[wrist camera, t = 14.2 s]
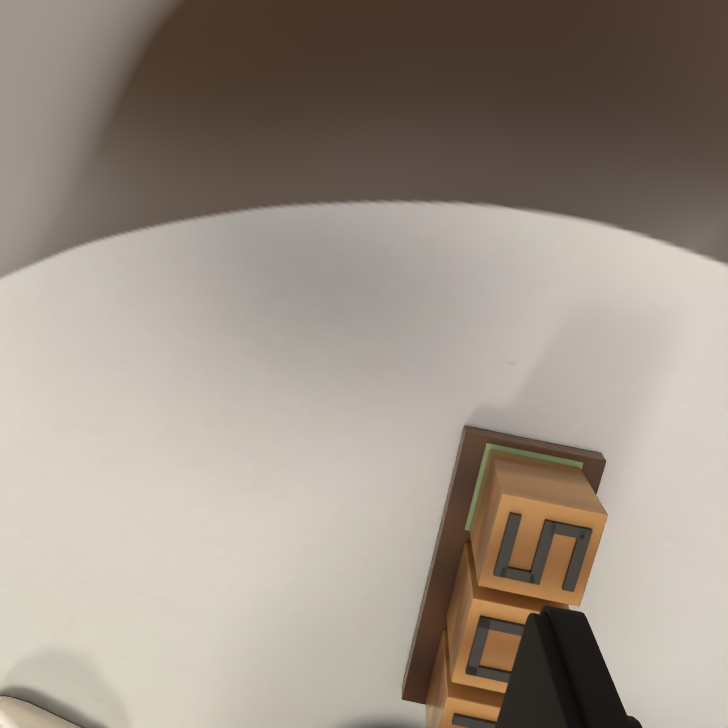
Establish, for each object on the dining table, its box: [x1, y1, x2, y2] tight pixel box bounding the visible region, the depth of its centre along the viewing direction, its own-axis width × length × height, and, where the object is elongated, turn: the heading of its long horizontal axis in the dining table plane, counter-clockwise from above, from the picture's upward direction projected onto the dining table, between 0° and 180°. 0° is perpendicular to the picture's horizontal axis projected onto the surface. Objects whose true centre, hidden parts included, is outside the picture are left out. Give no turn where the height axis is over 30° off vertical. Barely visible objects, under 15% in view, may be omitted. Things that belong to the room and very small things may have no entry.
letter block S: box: [469, 450, 608, 606], centre depth 31 cm, size 4×4×5 cm
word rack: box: [402, 426, 606, 728], centre depth 33 cm, size 16×7×6 cm, turn 169°
